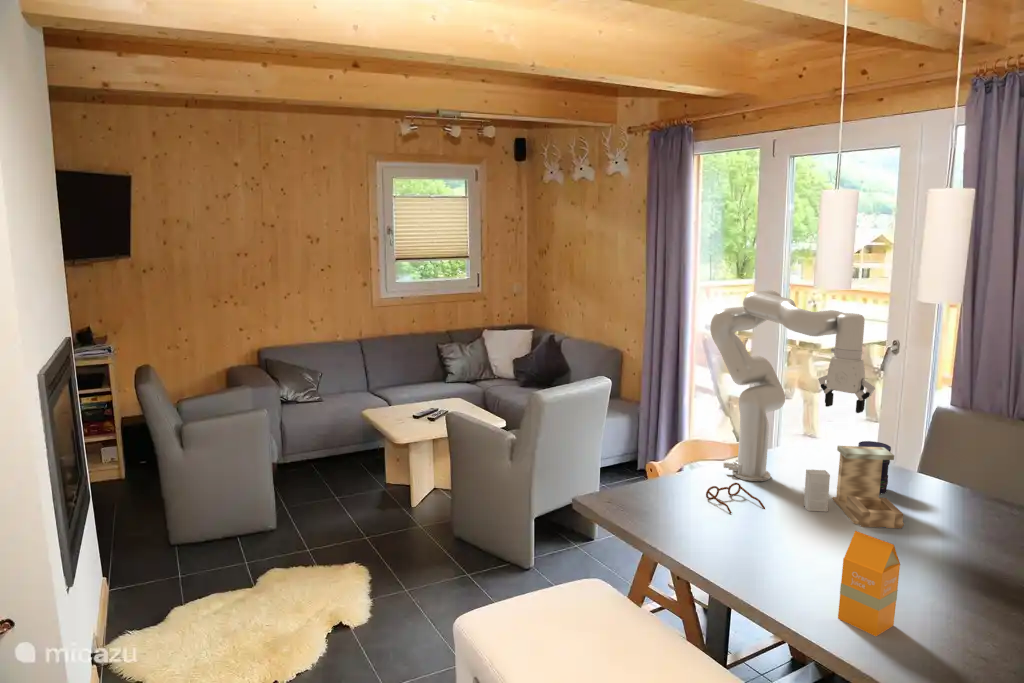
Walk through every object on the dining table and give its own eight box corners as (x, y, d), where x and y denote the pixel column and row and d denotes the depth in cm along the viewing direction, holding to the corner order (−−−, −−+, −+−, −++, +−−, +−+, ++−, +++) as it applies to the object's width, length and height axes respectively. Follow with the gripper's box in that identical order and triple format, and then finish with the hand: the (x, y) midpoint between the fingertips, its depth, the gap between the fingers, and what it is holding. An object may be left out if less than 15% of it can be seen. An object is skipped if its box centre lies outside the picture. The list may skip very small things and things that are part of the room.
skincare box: (823, 506, 226) (826, 469, 224) (827, 512, 222) (830, 474, 220) (802, 505, 227) (805, 469, 225) (806, 511, 223) (809, 473, 221)
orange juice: (875, 636, 156) (885, 549, 152) (837, 618, 163) (844, 534, 159) (894, 625, 160) (903, 540, 157) (855, 607, 167) (863, 526, 164)
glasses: (738, 495, 236) (739, 480, 235) (766, 510, 224) (767, 495, 223) (704, 500, 231) (705, 486, 231) (731, 516, 219) (732, 500, 219)
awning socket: (856, 526, 212) (862, 467, 209) (832, 499, 232) (837, 445, 229) (906, 528, 211) (912, 469, 208) (877, 501, 231) (883, 446, 228)
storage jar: (849, 482, 247) (853, 440, 245) (878, 483, 247) (882, 441, 244) (861, 493, 237) (866, 449, 235) (892, 494, 237) (897, 450, 234)
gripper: (814, 351, 225) (811, 405, 228) (870, 359, 211) (865, 417, 214) (827, 349, 230) (823, 401, 232) (882, 357, 216) (878, 413, 219)
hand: (843, 409), depth 223 cm, fingers open, 9 cm apart
